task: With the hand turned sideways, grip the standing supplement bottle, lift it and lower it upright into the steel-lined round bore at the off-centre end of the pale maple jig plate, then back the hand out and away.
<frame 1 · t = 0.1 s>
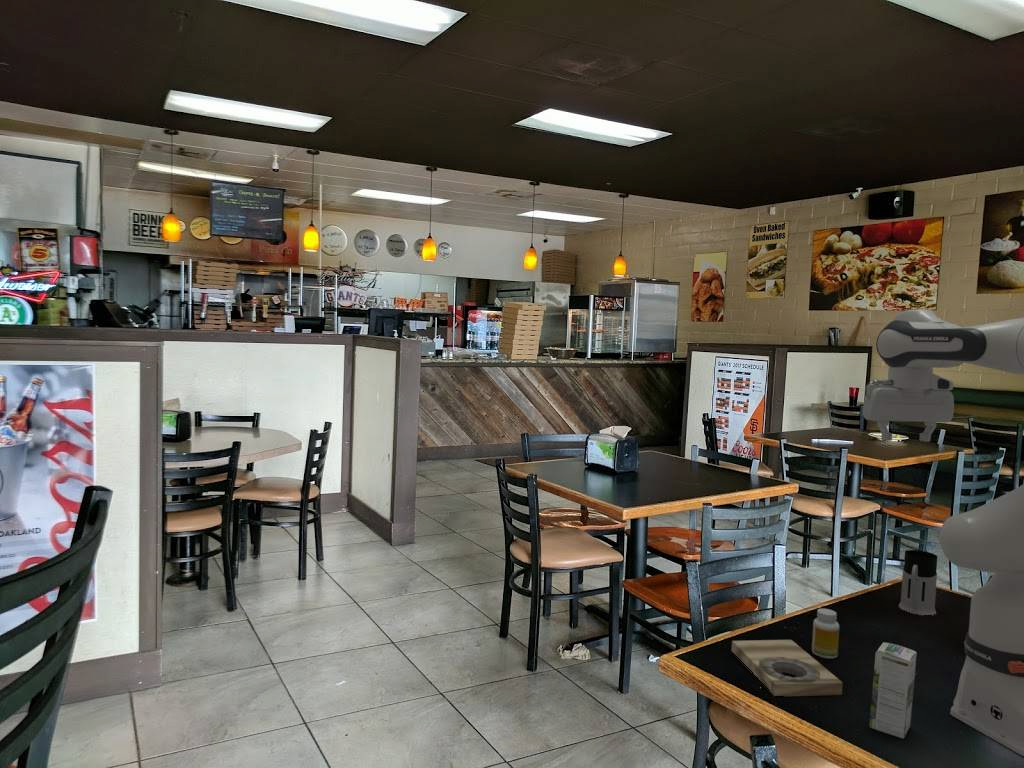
hand: (905, 440, 161), 48 cm above the table, tool pointing down, fingers open, 8 cm apart
supplement bottle: (824, 654, 158), on the table
glass holder: (915, 612, 186), on the table
syrup box: (890, 728, 128), on the table
jig plate: (783, 671, 149), on the table
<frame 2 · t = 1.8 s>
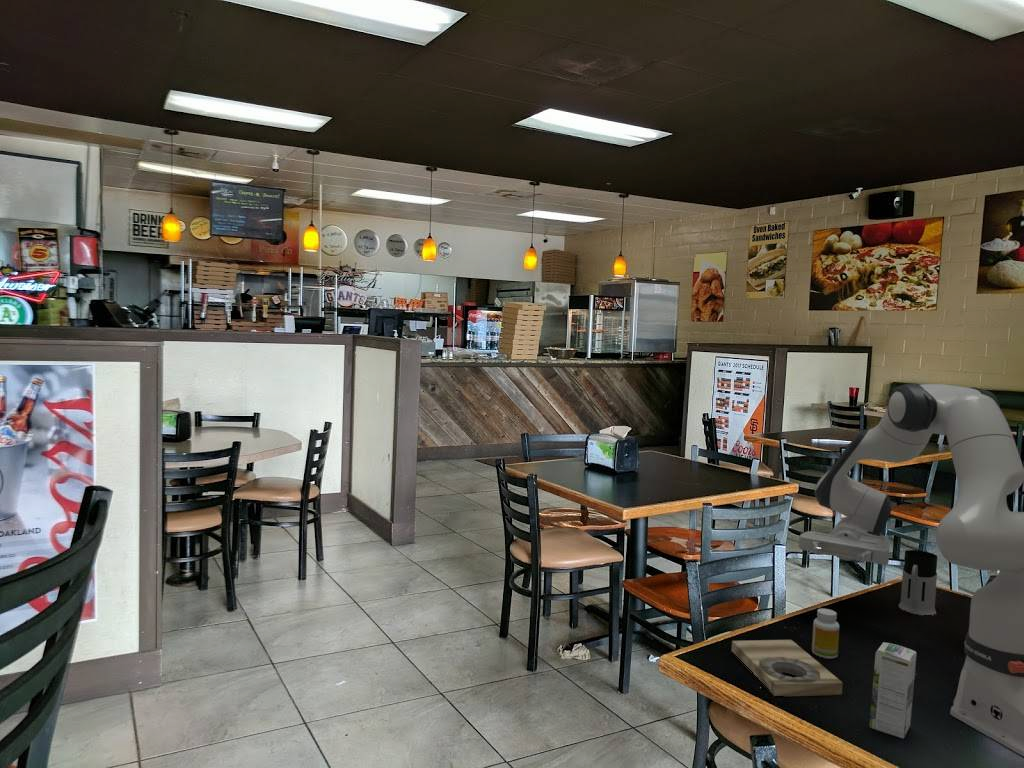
hand: (838, 554, 167), 20 cm above the table, tool horizontal, fingers open, 8 cm apart
nothing on the table moved.
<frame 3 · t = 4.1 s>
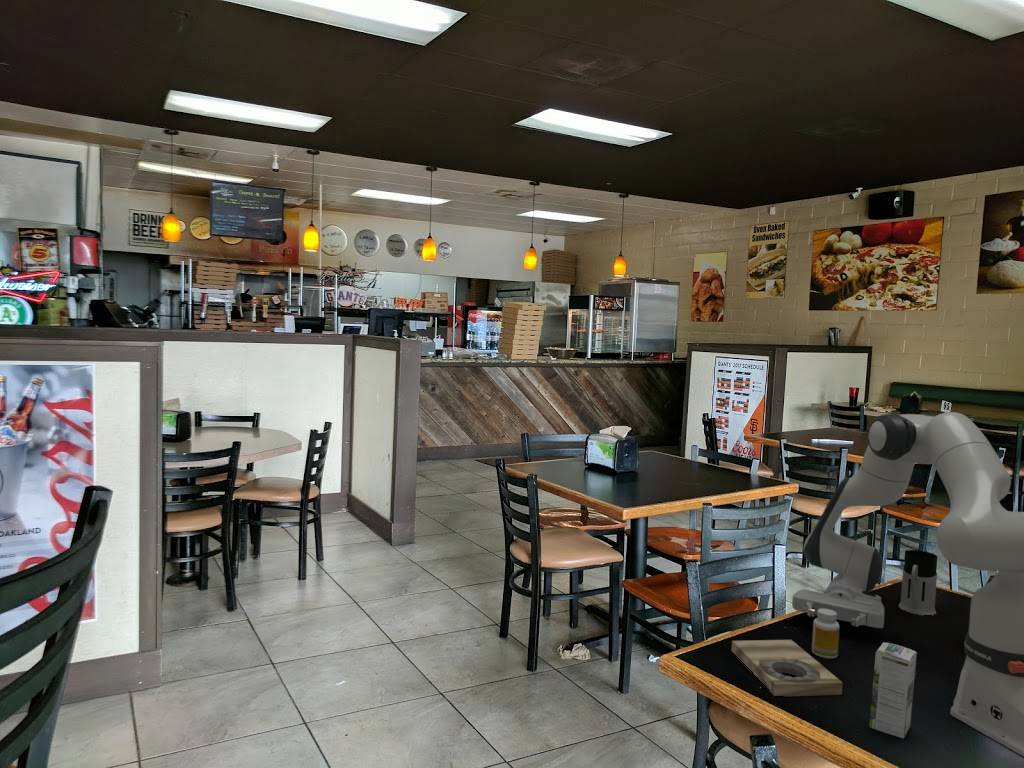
hand: (832, 618, 164), 6 cm above the table, tool horizontal, fingers open, 8 cm apart
nothing on the table moved.
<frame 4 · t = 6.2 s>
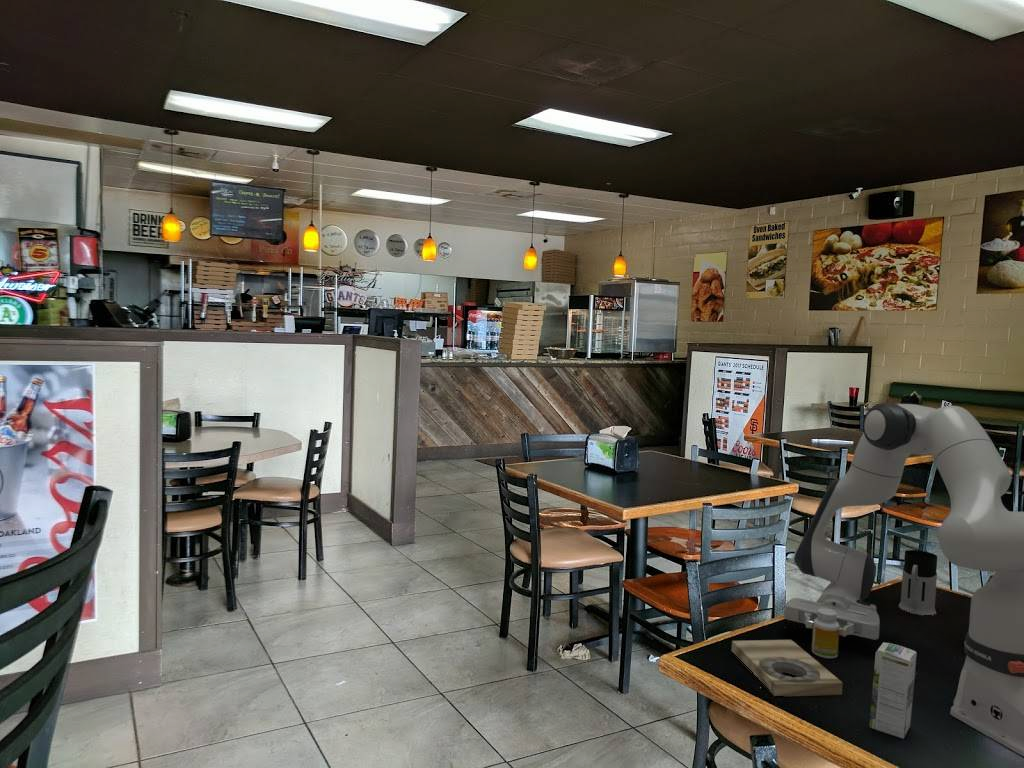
hand: (825, 628, 157), 6 cm above the table, tool horizontal, fingers closed on supplement bottle, 5 cm apart
supplement bottle: (824, 654, 158), on the table, touching gripper
everything else where it was.
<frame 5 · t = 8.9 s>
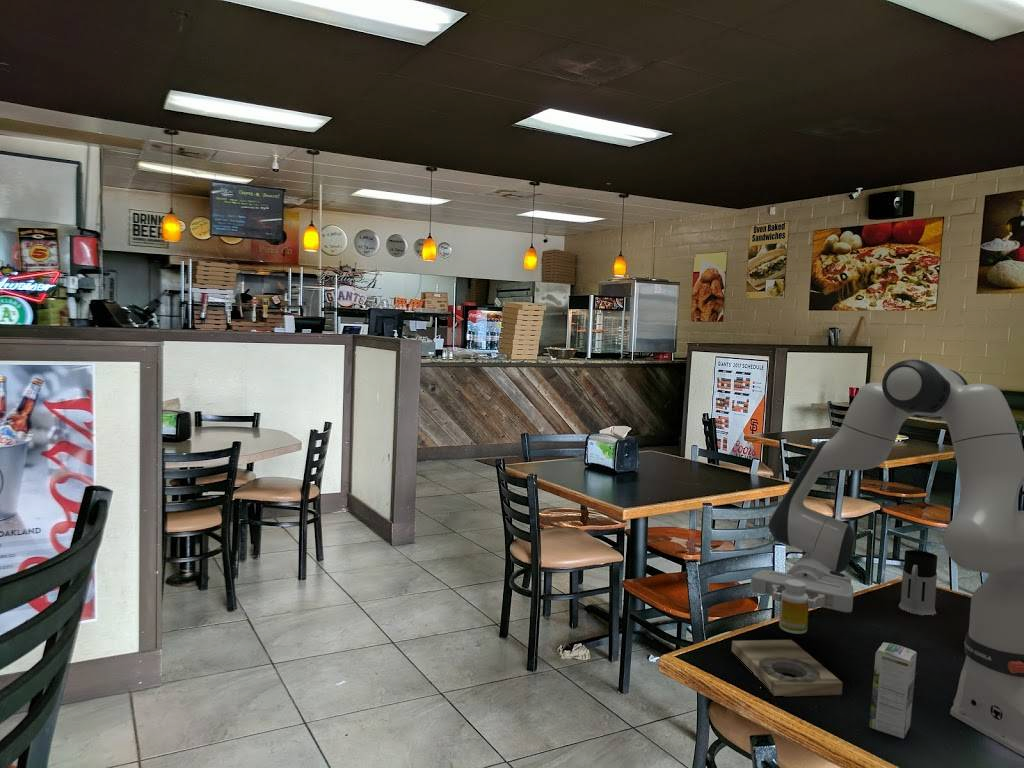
hand: (793, 600, 144), 17 cm above the table, tool horizontal, fingers closed on supplement bottle, 5 cm apart
supplement bottle: (793, 629, 145), point 10 cm above the table, touching gripper
everything else where it was.
when the fingers open (7 cm above the table, at t = 11.9 s): supplement bottle stays where it is, resting in jig plate.
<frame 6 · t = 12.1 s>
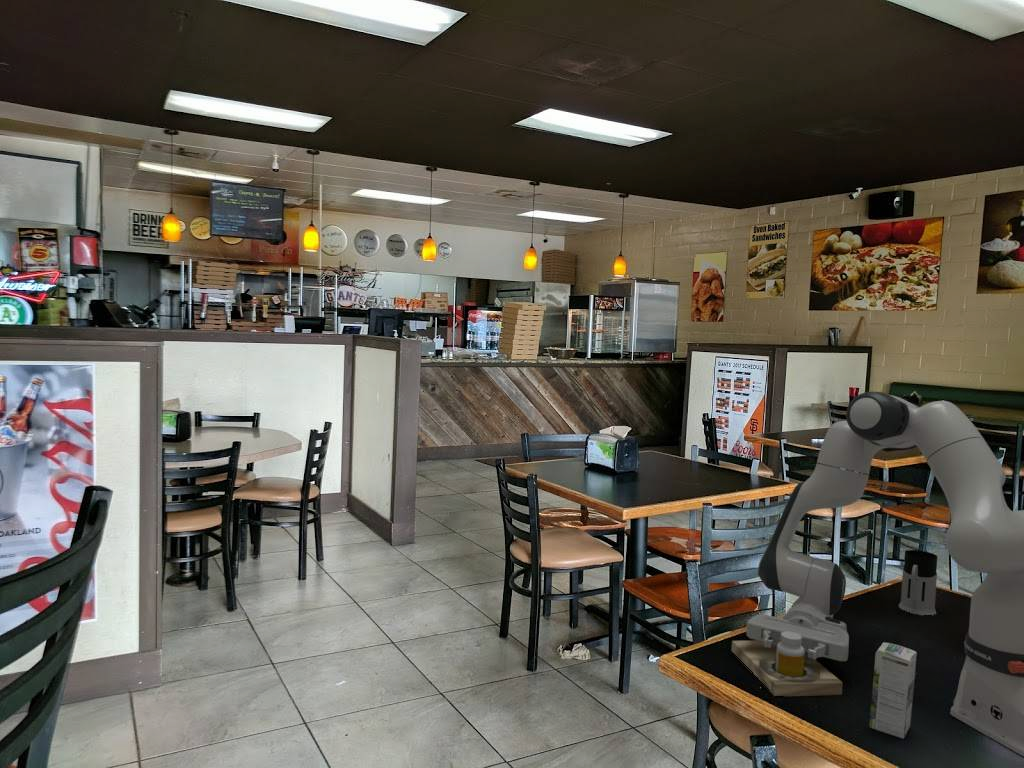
hand: (789, 649, 143), 7 cm above the table, tool horizontal, fingers open, 7 cm apart
supplement bottle: (788, 682, 145), resting in jig plate
everything else where it was.
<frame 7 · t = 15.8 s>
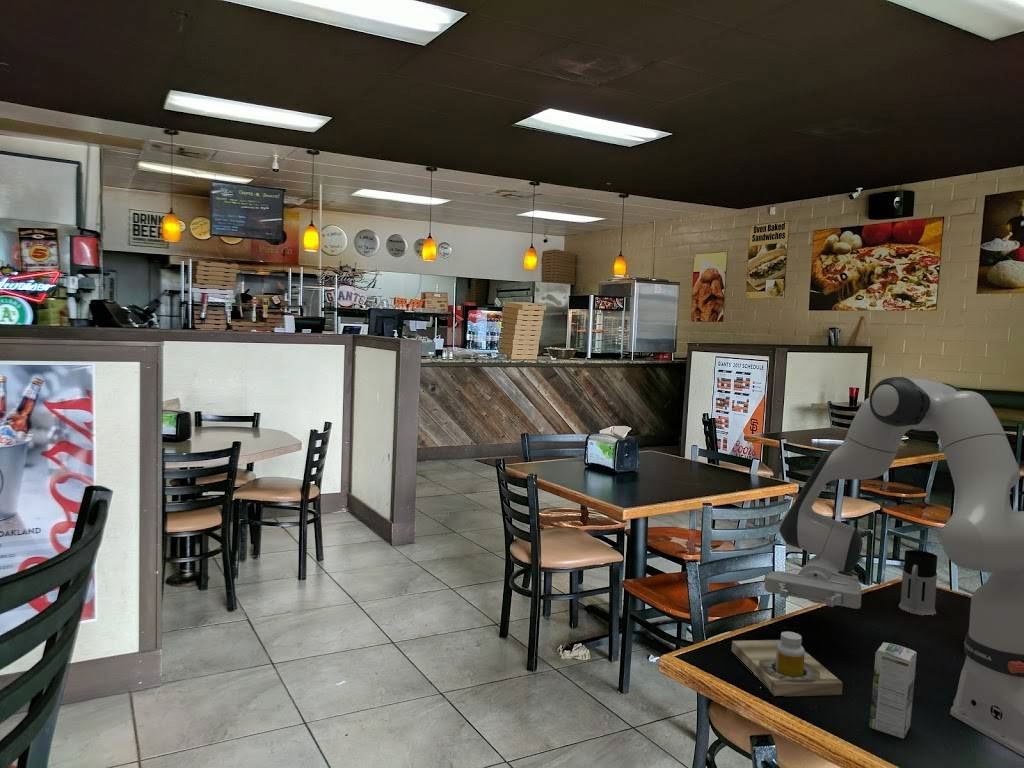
hand: (805, 598, 153), 14 cm above the table, tool horizontal, fingers open, 8 cm apart
nothing on the table moved.
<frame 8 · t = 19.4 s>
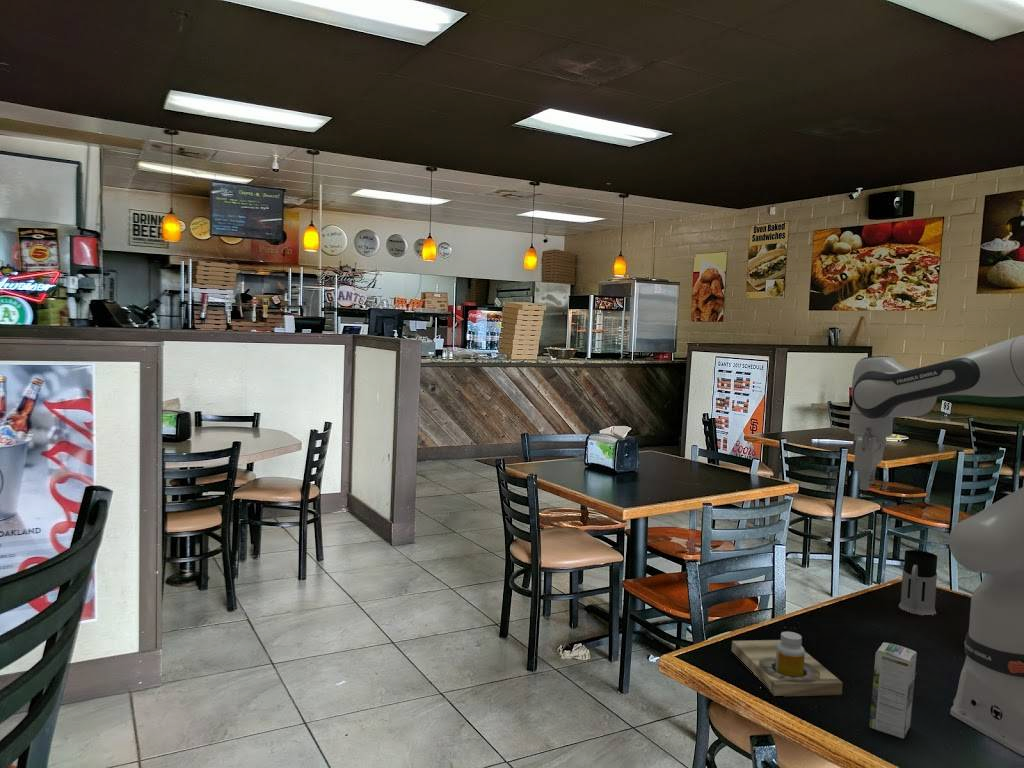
hand: (866, 486, 162), 37 cm above the table, tool pointing down, fingers open, 8 cm apart
nothing on the table moved.
at the end: supplement bottle 0.1 cm from the target spot in the jig plate, point 0.0 cm above the jig plate's base; supplement bottle tilted 0°; the gripper is holding nothing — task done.
